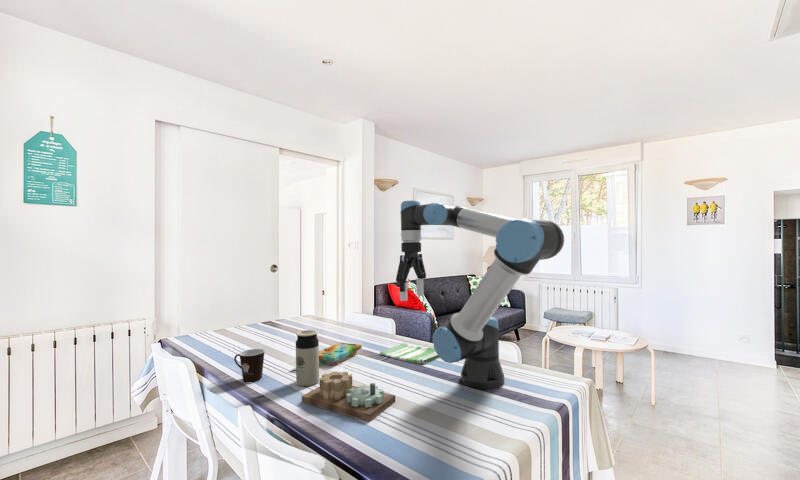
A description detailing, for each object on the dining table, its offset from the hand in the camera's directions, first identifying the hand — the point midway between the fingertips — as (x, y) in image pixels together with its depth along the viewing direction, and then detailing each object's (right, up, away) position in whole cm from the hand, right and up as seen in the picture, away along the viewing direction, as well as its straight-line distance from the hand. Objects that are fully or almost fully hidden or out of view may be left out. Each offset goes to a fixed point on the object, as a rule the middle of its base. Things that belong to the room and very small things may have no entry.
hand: (412, 297), depth 136 cm
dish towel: (+1, -30, +23) cm, 37 cm away
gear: (-15, -27, -27) cm, 41 cm away
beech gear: (-25, -27, -21) cm, 42 cm away
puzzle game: (-32, -30, +20) cm, 48 cm away
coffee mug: (-60, -30, -2) cm, 67 cm away
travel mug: (-38, -30, -7) cm, 48 cm away
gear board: (-21, -29, -23) cm, 43 cm away
